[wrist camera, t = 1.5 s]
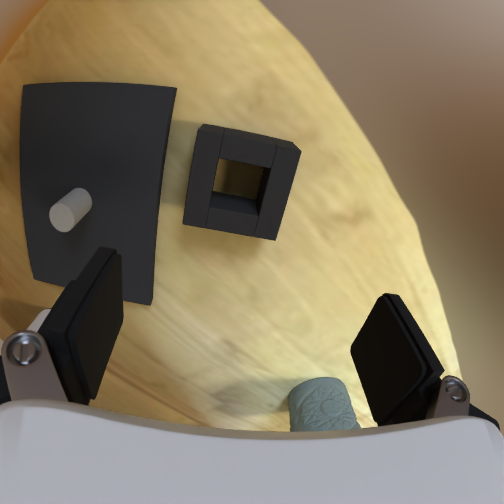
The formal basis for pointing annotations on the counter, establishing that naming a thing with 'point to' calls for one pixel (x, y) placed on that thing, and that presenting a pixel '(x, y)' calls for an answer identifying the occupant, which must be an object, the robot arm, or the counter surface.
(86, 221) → the base pad
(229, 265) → the counter surface
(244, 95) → the counter surface
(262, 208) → the black square frame
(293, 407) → the grey green embossed cup
